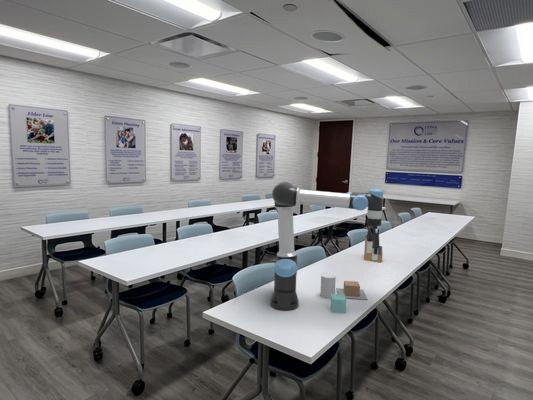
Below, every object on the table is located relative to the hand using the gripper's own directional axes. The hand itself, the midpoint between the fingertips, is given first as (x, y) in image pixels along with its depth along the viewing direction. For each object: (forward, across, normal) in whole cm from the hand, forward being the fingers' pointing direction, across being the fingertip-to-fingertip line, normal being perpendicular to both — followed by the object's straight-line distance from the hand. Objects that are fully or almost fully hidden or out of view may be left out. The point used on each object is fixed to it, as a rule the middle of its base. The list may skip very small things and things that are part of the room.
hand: (371, 256), depth 186 cm
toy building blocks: (+26, +87, -23) cm, 94 cm away
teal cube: (+26, -13, +18) cm, 34 cm away
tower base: (+26, +9, +8) cm, 28 cm away
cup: (+26, +5, +22) cm, 35 cm away
